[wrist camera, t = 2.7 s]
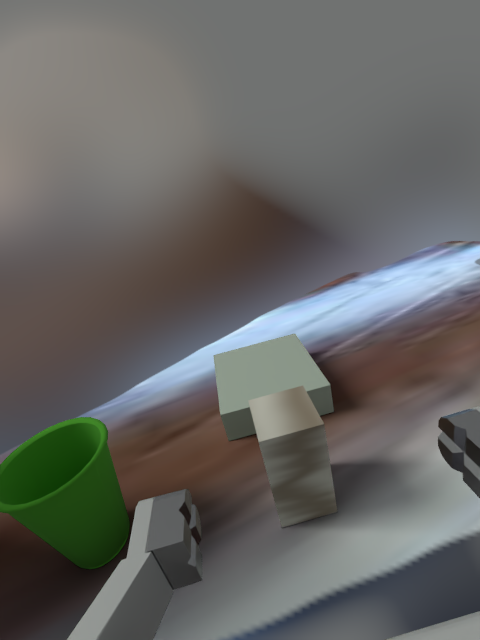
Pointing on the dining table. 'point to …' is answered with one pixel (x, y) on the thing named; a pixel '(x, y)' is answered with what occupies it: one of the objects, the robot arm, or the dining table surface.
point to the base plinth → (266, 380)
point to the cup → (68, 491)
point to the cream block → (294, 455)
